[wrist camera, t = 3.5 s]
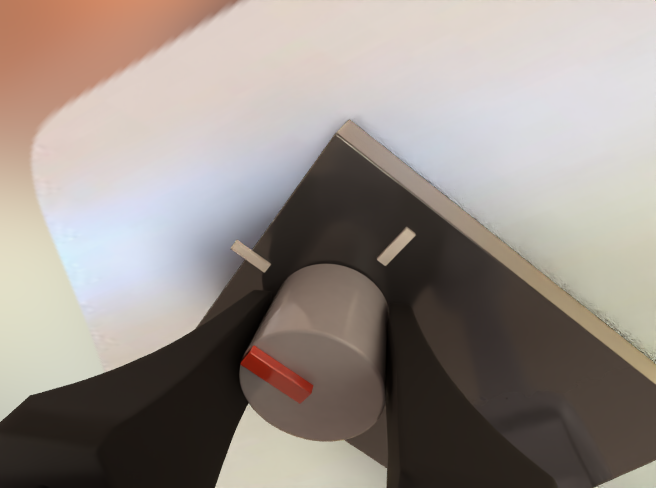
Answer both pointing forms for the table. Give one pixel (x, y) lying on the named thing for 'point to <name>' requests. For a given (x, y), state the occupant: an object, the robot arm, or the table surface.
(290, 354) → the hob knob
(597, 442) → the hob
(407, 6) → the table surface
